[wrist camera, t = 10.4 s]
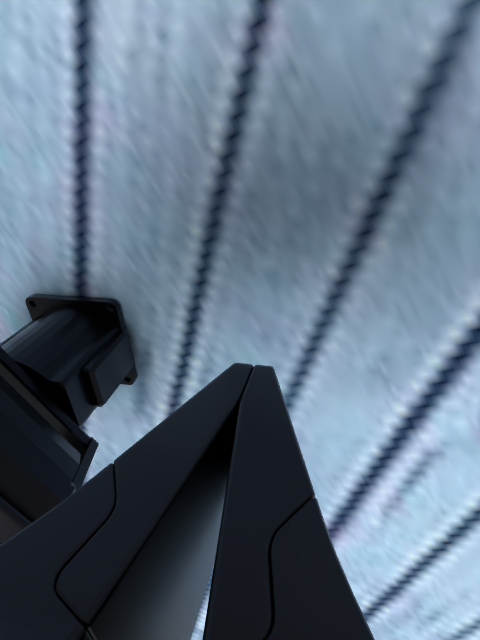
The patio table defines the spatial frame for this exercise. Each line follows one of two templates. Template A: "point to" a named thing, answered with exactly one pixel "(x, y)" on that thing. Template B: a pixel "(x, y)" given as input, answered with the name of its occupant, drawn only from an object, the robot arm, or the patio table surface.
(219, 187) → the patio table surface
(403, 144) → the patio table surface
